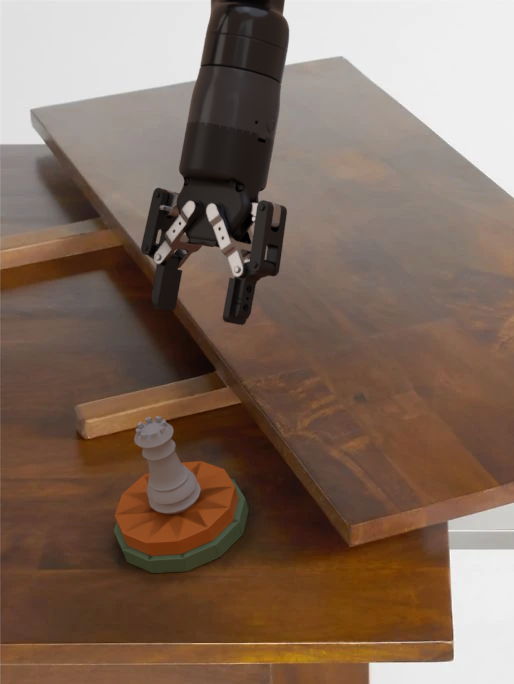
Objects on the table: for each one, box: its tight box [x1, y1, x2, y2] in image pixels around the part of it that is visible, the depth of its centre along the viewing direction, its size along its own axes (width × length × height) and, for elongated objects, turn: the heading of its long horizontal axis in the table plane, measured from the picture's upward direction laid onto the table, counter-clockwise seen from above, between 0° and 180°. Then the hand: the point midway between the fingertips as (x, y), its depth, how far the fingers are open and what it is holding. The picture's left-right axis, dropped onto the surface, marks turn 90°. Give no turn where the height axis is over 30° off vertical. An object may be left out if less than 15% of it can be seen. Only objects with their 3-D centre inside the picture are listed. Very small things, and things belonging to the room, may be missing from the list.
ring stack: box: [112, 460, 250, 574], centre depth 117 cm, size 11×11×3 cm
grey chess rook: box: [133, 415, 201, 514], centre depth 114 cm, size 4×4×8 cm
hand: (197, 316), depth 118 cm, fingers open, 8 cm apart
